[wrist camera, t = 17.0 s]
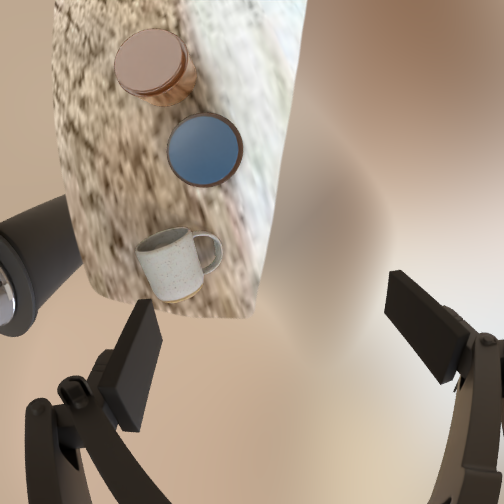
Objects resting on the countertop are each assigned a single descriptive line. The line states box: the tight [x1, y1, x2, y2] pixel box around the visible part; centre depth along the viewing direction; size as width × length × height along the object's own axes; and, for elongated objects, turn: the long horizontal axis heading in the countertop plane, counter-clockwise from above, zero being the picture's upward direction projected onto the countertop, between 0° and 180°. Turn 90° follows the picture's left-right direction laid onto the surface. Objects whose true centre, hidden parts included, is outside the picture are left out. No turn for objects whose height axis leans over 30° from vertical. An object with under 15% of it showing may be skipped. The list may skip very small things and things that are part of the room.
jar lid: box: [169, 116, 239, 185], centre depth 36 cm, size 9×9×2 cm
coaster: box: [167, 113, 243, 187], centre depth 37 cm, size 10×10×1 cm
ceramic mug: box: [135, 227, 223, 303], centre depth 39 cm, size 11×8×8 cm
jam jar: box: [114, 29, 197, 107], centre depth 29 cm, size 8×8×10 cm
